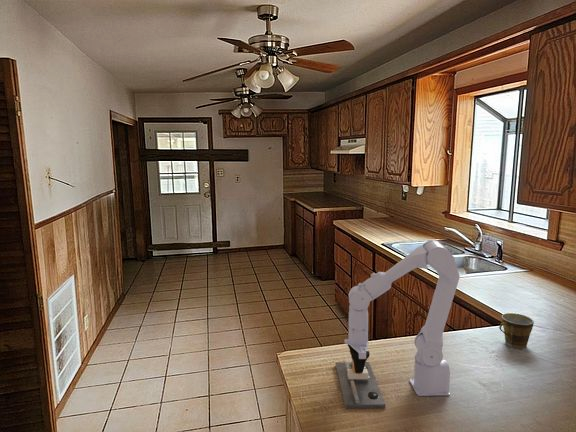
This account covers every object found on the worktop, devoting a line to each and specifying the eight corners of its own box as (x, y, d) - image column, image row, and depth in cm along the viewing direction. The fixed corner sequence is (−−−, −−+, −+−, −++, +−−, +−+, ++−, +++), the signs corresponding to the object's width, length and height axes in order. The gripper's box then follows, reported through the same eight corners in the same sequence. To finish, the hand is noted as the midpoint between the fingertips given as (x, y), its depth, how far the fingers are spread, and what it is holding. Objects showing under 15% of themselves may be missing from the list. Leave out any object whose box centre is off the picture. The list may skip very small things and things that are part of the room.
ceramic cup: (514, 336, 146) (516, 311, 145) (538, 348, 137) (540, 322, 135) (487, 342, 142) (488, 316, 141) (510, 355, 133) (512, 327, 131)
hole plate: (368, 365, 128) (368, 353, 127) (385, 408, 106) (385, 394, 105) (335, 365, 128) (335, 354, 127) (345, 408, 106) (345, 394, 105)
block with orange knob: (368, 374, 119) (368, 355, 118) (370, 380, 116) (370, 361, 115) (347, 374, 119) (347, 356, 118) (348, 380, 116) (348, 361, 115)
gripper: (341, 316, 122) (341, 356, 124) (348, 338, 108) (348, 382, 110) (363, 316, 122) (363, 356, 124) (373, 337, 108) (373, 382, 110)
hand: (357, 368), depth 117 cm, fingers closed on block with orange knob, 3 cm apart
